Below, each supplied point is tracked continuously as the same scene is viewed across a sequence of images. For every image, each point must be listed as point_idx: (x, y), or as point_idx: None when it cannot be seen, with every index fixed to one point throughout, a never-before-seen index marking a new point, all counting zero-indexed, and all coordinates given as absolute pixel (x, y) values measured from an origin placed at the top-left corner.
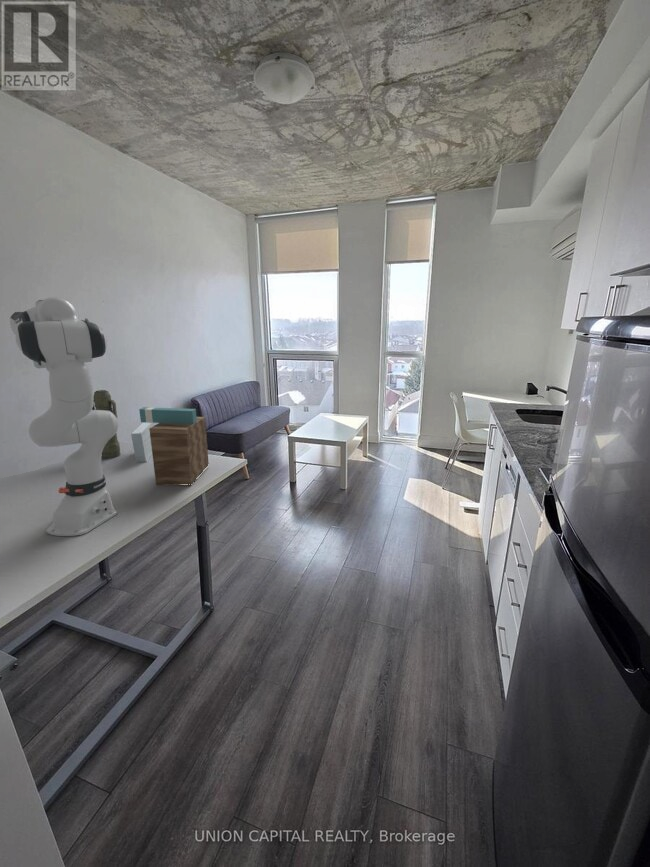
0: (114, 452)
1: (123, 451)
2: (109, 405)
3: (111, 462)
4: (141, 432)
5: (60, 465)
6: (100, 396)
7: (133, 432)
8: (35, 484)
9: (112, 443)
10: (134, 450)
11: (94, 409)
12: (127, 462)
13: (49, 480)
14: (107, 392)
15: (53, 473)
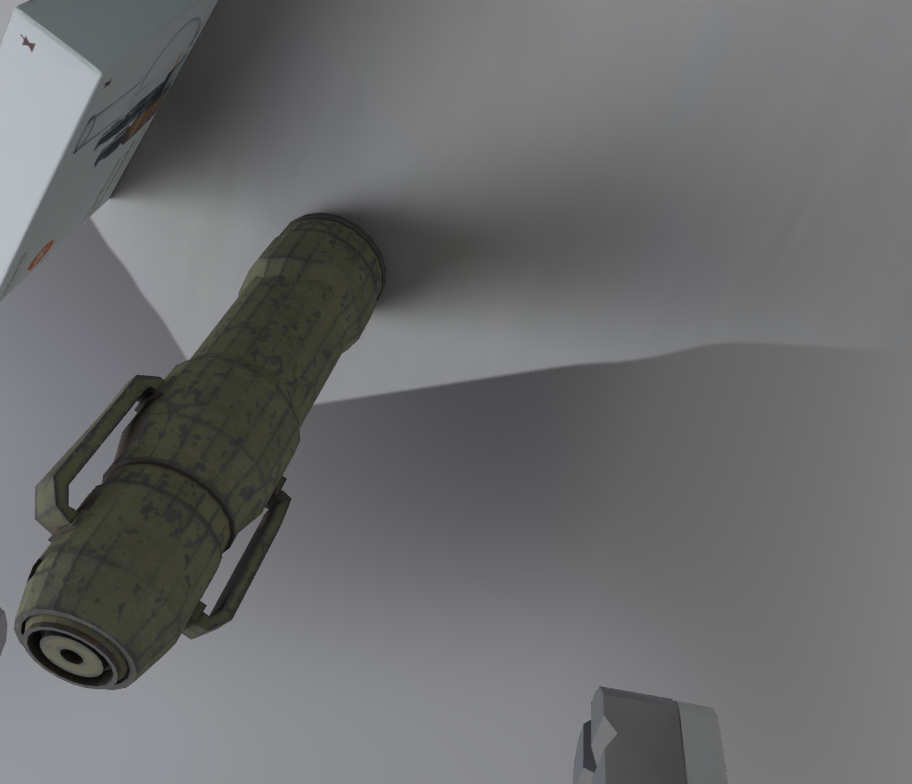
0: (307, 229)
1: None
2: (102, 488)
3: (368, 132)
4: (9, 28)
5: (627, 330)
6: (110, 583)
7: (77, 94)
8: (907, 103)
9: (283, 271)
10: (178, 13)
11: (240, 563)
12: (279, 39)
13: (807, 107)
14: (23, 606)
15: (722, 223)
